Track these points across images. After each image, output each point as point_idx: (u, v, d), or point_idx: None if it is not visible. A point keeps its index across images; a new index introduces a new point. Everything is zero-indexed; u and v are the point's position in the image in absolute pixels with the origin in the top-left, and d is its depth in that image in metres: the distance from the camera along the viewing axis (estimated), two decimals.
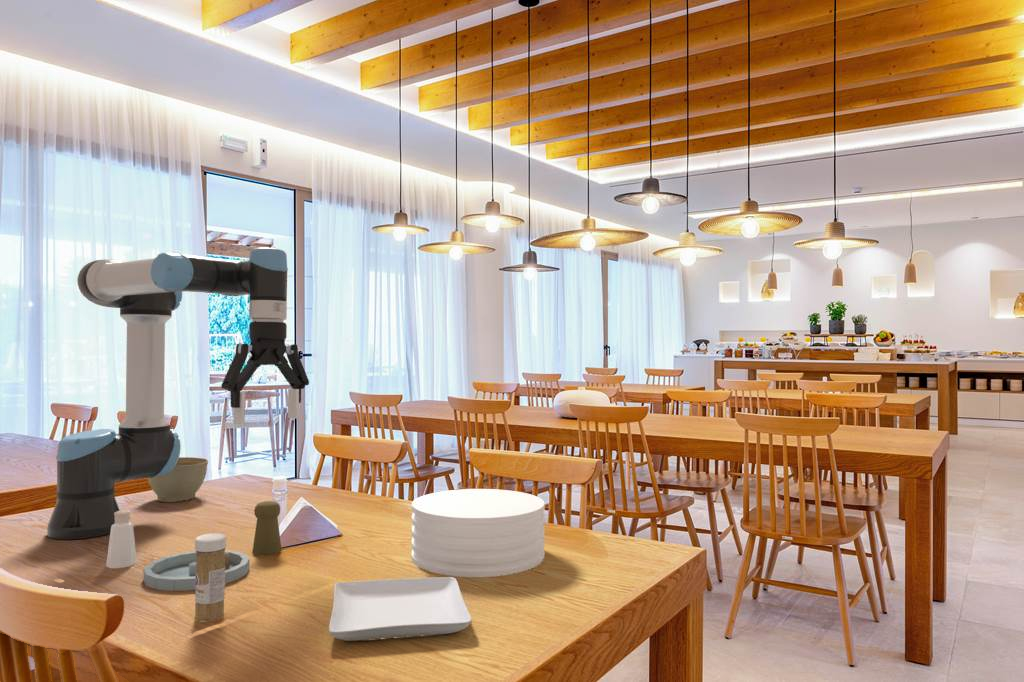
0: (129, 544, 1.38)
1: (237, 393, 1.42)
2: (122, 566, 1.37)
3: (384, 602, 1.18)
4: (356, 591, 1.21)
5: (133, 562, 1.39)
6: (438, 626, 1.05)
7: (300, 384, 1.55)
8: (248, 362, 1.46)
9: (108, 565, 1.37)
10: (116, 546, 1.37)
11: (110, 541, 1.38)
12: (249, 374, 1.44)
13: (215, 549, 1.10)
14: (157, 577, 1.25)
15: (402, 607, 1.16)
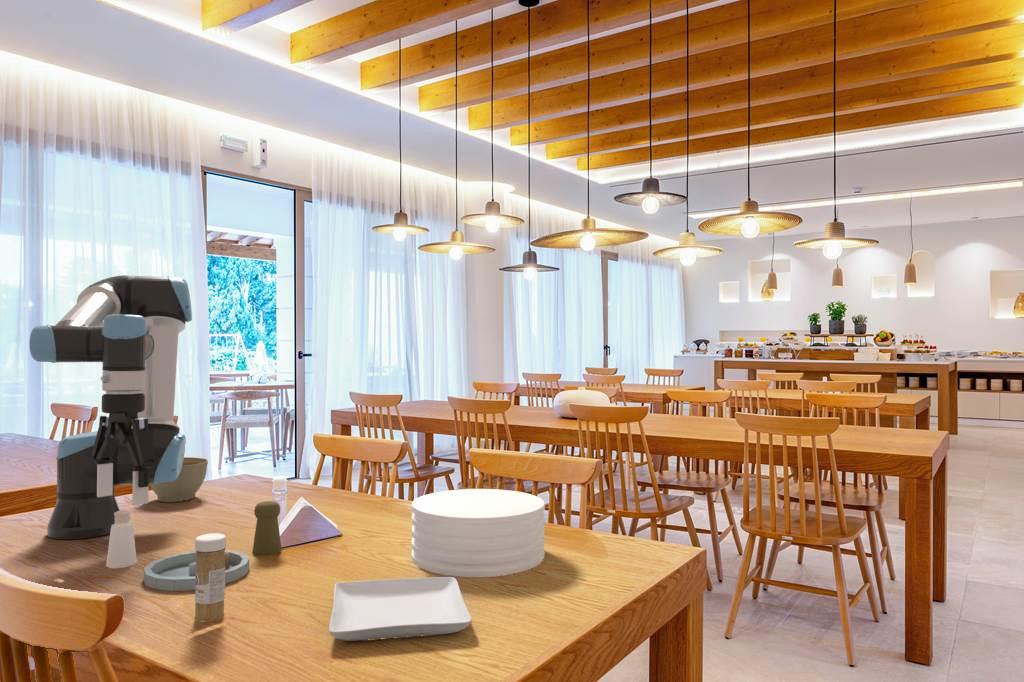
0: (129, 544, 1.38)
1: None
2: (122, 566, 1.37)
3: (384, 602, 1.18)
4: (356, 591, 1.21)
5: (133, 562, 1.39)
6: (438, 626, 1.05)
7: (136, 466, 1.33)
8: None
9: (108, 565, 1.37)
10: (116, 546, 1.37)
11: (110, 541, 1.38)
12: (102, 447, 1.41)
13: (215, 549, 1.10)
14: (157, 577, 1.25)
15: (402, 607, 1.16)
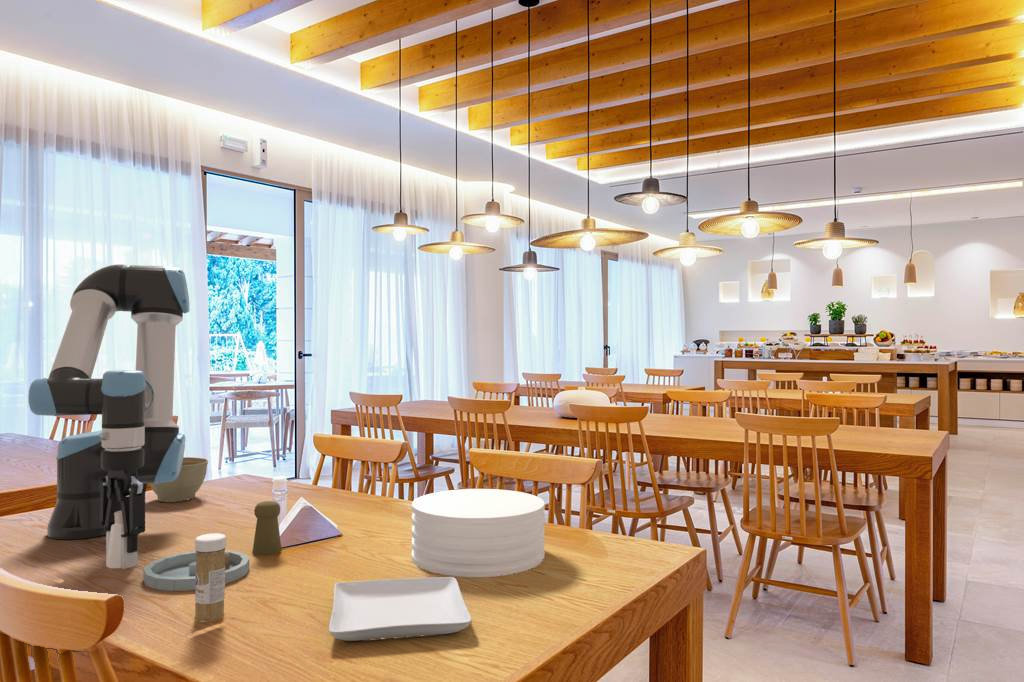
0: None
1: (108, 531, 1.40)
2: None
3: (384, 602, 1.18)
4: (356, 591, 1.21)
5: None
6: (438, 626, 1.05)
7: (126, 532, 1.36)
8: None
9: (108, 565, 1.37)
10: (116, 546, 1.37)
11: (110, 541, 1.38)
12: (108, 510, 1.40)
13: (215, 549, 1.10)
14: (157, 577, 1.25)
15: (402, 607, 1.16)
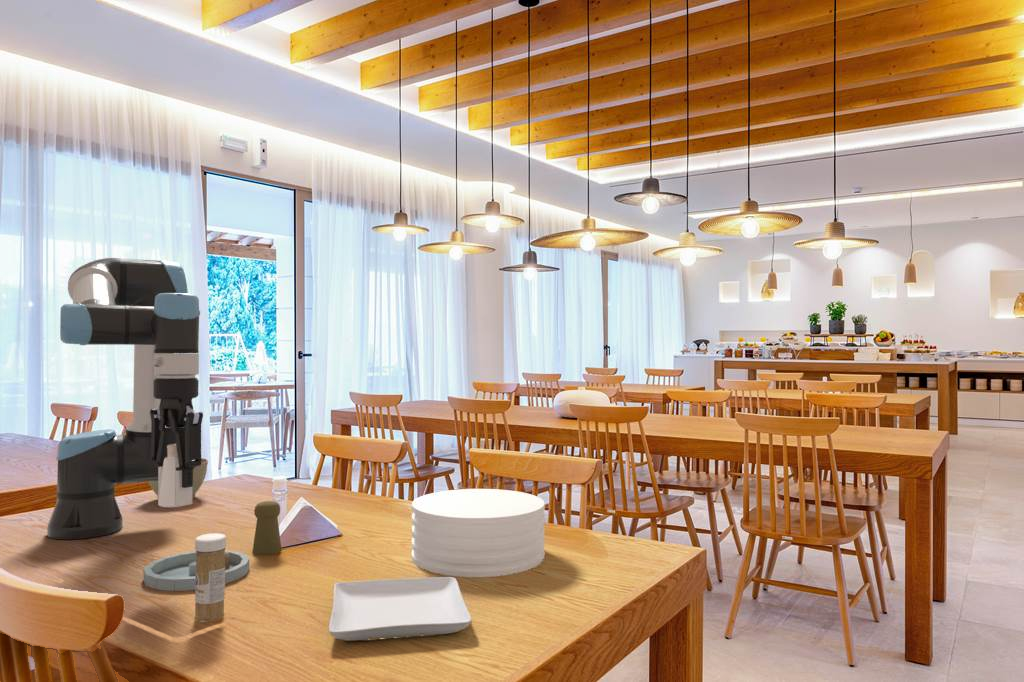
0: None
1: (160, 467, 1.31)
2: None
3: (384, 602, 1.18)
4: (356, 591, 1.21)
5: None
6: (438, 626, 1.05)
7: (181, 465, 1.26)
8: None
9: (161, 501, 1.27)
10: (169, 480, 1.27)
11: (163, 476, 1.28)
12: (160, 443, 1.30)
13: (215, 549, 1.10)
14: (157, 577, 1.25)
15: (402, 607, 1.16)
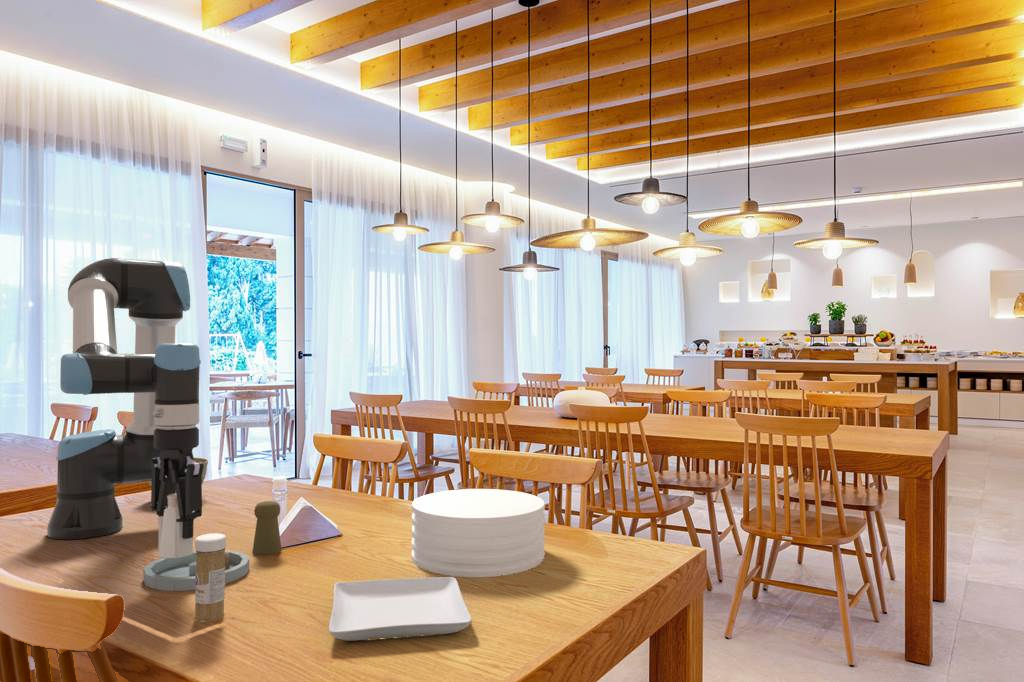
0: None
1: (160, 516, 1.31)
2: None
3: (384, 602, 1.18)
4: (356, 591, 1.21)
5: None
6: (438, 626, 1.05)
7: (181, 516, 1.26)
8: None
9: (161, 552, 1.27)
10: (170, 531, 1.27)
11: (163, 526, 1.28)
12: (160, 493, 1.30)
13: (215, 549, 1.10)
14: (157, 577, 1.25)
15: (402, 607, 1.16)
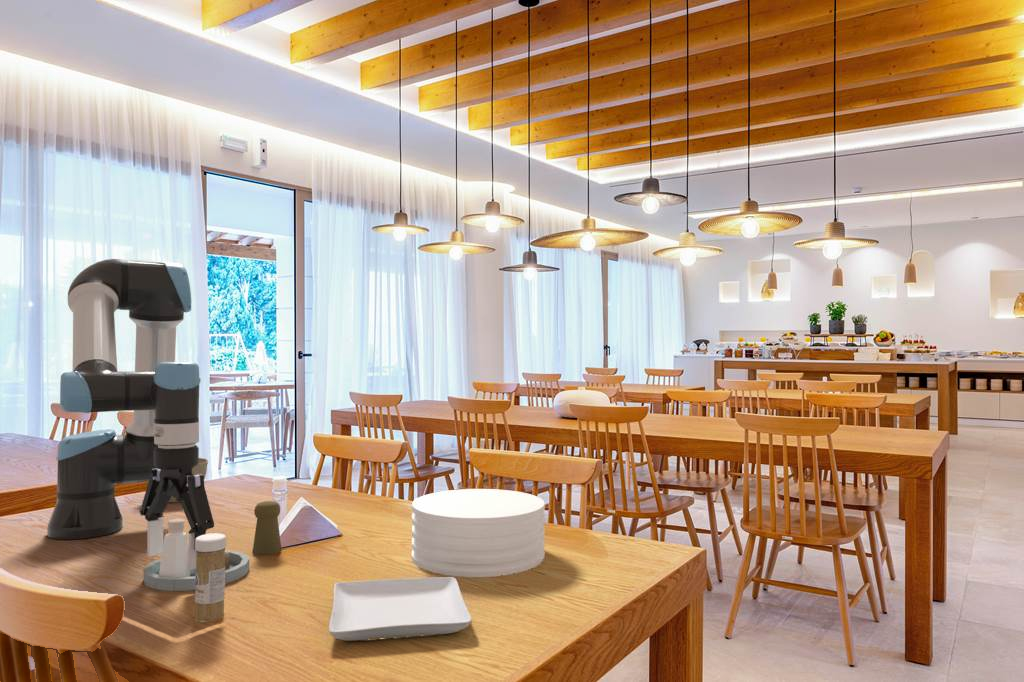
0: (183, 556, 1.28)
1: (149, 521, 1.33)
2: None
3: (384, 602, 1.18)
4: (356, 591, 1.21)
5: (187, 575, 1.29)
6: (438, 626, 1.05)
7: (193, 527, 1.24)
8: None
9: None
10: (170, 557, 1.27)
11: (163, 552, 1.28)
12: (153, 503, 1.31)
13: (215, 549, 1.10)
14: (157, 577, 1.25)
15: (401, 607, 1.16)
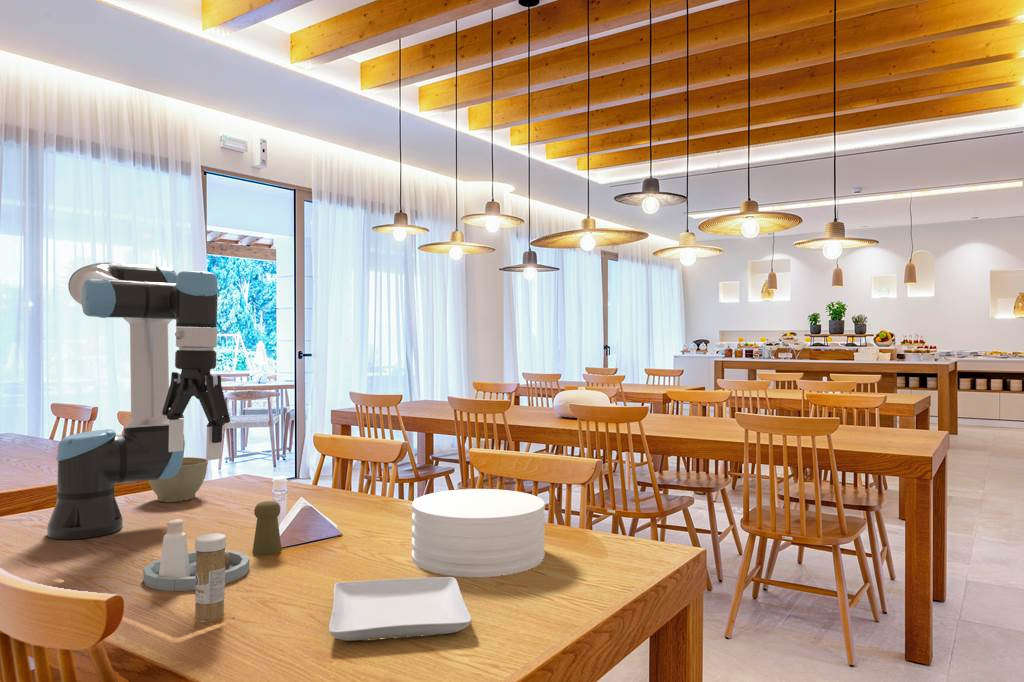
0: (183, 556, 1.28)
1: (170, 420, 1.44)
2: None
3: (384, 602, 1.18)
4: (356, 591, 1.21)
5: (187, 575, 1.29)
6: (438, 626, 1.05)
7: (211, 421, 1.35)
8: None
9: None
10: (169, 558, 1.27)
11: (162, 553, 1.28)
12: (174, 403, 1.42)
13: (215, 549, 1.10)
14: (157, 577, 1.25)
15: (401, 607, 1.16)
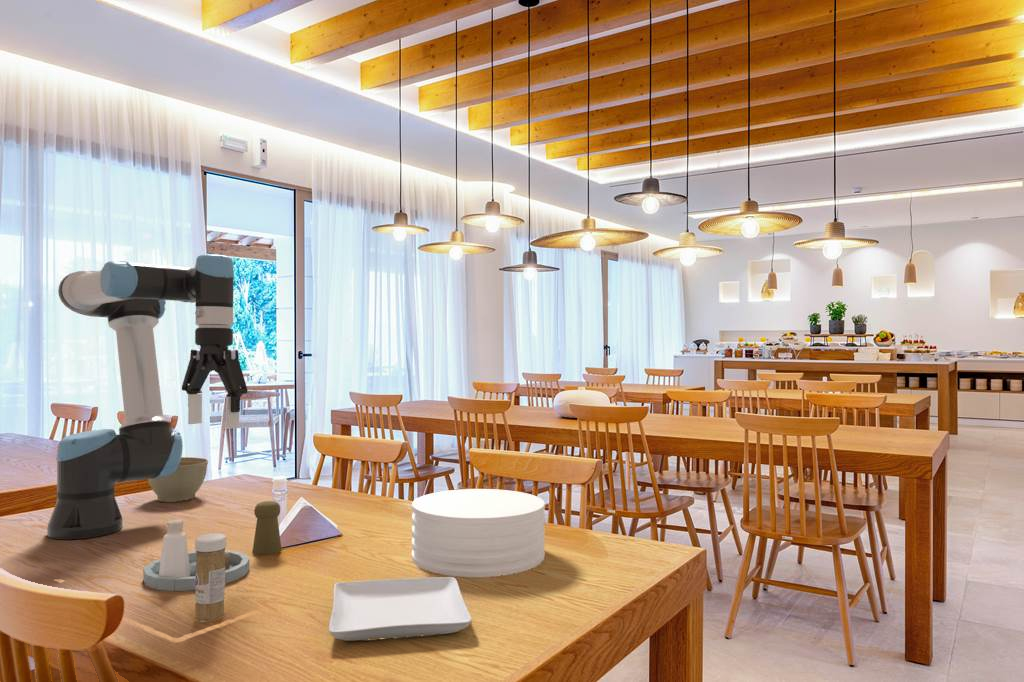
0: (183, 556, 1.28)
1: None
2: None
3: (384, 602, 1.18)
4: (356, 591, 1.21)
5: (187, 575, 1.29)
6: (438, 626, 1.05)
7: None
8: None
9: None
10: (170, 558, 1.27)
11: (162, 553, 1.28)
12: (194, 378, 1.53)
13: (215, 549, 1.10)
14: (157, 577, 1.25)
15: (401, 607, 1.16)
